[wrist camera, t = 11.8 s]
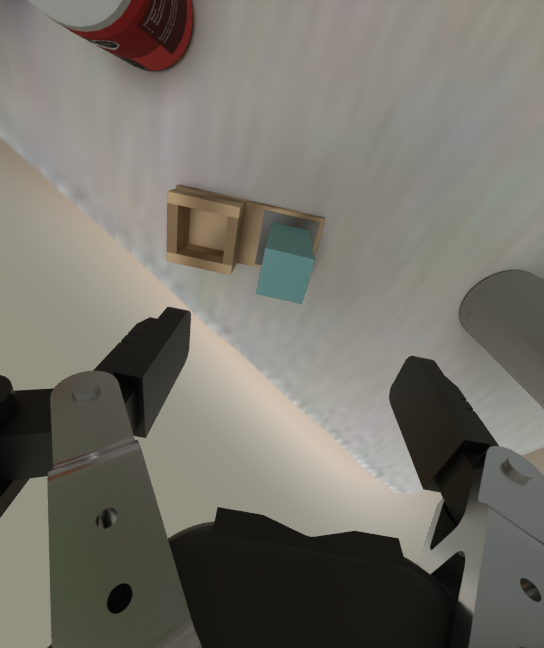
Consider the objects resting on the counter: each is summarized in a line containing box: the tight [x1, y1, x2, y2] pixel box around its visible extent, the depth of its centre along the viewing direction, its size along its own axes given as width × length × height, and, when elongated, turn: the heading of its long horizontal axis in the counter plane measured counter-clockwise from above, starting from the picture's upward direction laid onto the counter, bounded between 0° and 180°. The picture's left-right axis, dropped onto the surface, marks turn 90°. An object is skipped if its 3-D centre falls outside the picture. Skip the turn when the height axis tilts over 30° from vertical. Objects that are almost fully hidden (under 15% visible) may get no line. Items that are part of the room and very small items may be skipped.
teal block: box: [256, 222, 315, 304], centre depth 28 cm, size 4×4×10 cm
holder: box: [167, 185, 325, 275], centre depth 31 cm, size 16×7×5 cm, turn 78°
